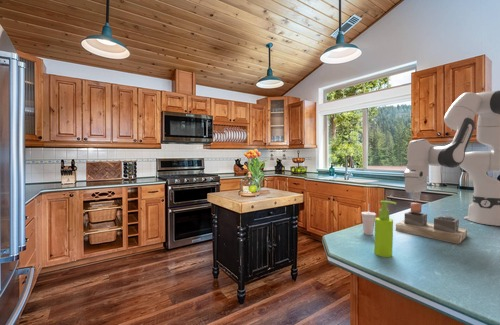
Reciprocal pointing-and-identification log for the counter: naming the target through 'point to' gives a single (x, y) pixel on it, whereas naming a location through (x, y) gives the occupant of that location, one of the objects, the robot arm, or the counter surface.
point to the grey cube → (446, 218)
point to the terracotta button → (416, 207)
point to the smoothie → (368, 221)
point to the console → (432, 227)
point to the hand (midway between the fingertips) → (416, 200)
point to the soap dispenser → (384, 232)
